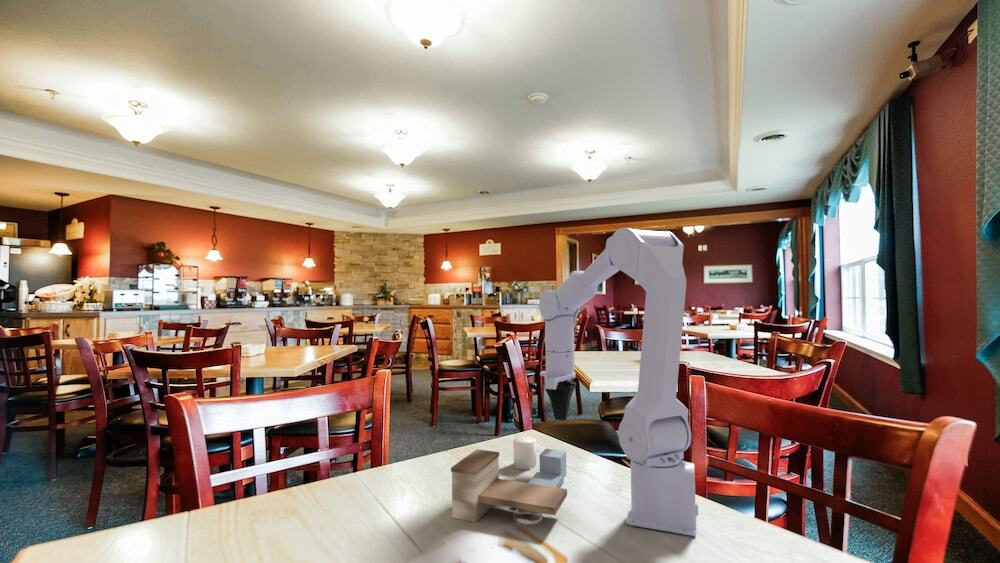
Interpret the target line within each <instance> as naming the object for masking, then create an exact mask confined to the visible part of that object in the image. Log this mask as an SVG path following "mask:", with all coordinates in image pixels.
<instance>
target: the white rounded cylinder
mask: <svg viewBox="0 0 1000 563" xmlns="http://www.w3.org/2000/svg"><path fill="white" fill-rule="evenodd" d="M512 441H513V442H512V443H513V446H512V447H513V450H512V452H513V453H512V454H513V467H514V466H515V467H518V468H522V469H521V470H531V469H530V468H533V469H535V468H536V467H537V466H538V465H537V460H538V459H537V439H536V438H535V437H531V436H518V437H516V438H513V440H512ZM536 465H537V466H536ZM535 466H536V467H535ZM515 467H514V468H515ZM534 467H535V468H534ZM518 468H517V469H518Z"/></svg>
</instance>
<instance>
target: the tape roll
mask: <svg viewBox="0 0 1000 563" xmlns="http://www.w3.org/2000/svg"><path fill="white" fill-rule="evenodd" d="M543 514H544V513H539V512H533V511H527V510H521V509H516V508H515V510H514V511H513V523H515V524H516V523H517V524H516V525H518V524H519V525H518V526H520V525H522V526H521V527H524V526H526V527H525V528H532V527H536V526H537V527H538V526H539V525H541V524H542V523H543ZM531 526H532V527H531Z"/></svg>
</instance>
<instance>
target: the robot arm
mask: <svg viewBox="0 0 1000 563" xmlns="http://www.w3.org/2000/svg"><path fill="white" fill-rule="evenodd" d="M684 247H685V246H684V244H683V242H681V240H680V239H679V238H678V237H677V236H676V235H675V234H674V233H673V232H671V231H669V230H648V229H647V230H646V229H634V228H629V227H621V228H619V229H617V230H615V232H614V233H613V234H612V235H611V236H609V237H608V238H607V239H606V243H605V248H604V250H603V251H602V252H601V253H600V254H599V255H598V256H597V257H595V259H594V260H593V261H592V263H590V265H588V267H587V268H586V269H585V270H572V271H571V272H570V274H569V276H568V278H566V279H565V280H564V281H563V282H562V283H559V285H558V286H557V287H556V288H555V290H553V289H552V290H550V289H547V290H544V291H543V292H542V294H541V295H540V297H539V301H538V311H539V313H540V315H541V317H542V318H543V319H544V335H545V336H544V337H545V338H544V341H545V342H544V343H545V348H544V349H545V370H543V371H540V372H539V375H540V377H544V384H543V385H544V386H543V388H544V390H545V393H547V396H548V398H549V400H550V403H551V408H552V413H553V416H554V419H555V420H557V421H566V420H567V418H568V414H569V410H570V404H571V400H572V396H573V393H574V390H575V389H576V387H577V382H575V381H569V380H573V379H575V378H576V372H575V332H574V331H575V328H576V326H577V318H578V315H579V314H580V308H581V307H582V306H583V305H585V304H586V303H588V301H590V300H591V299H592V298H594V297H595V296H596V295H597V293H598V286H599V285H600V284H602V283H603V282H605V281H606V280H608V279H609V278H610V277H612V276H613V275H615V274H617V273H618V272H620V271H621V272H623V273H624V274H626V276H628V277H630V278H631V279H633V280H635V282H637V283H638V284H639V285H640V286H641V288H643V290H644V291H645V301H644V316H643V324H642V325H643V326H642V339H641V352H640V361H639V362H640V364H639V373H638V374H639V375H638V388H637V392H636V394H635V395H634V396H633V398H631V400H630V401H629V402H627V404H625V406H624V414H623V418H622V420H621V422H620V423H619V426H618V432H617V434H618V435H617V436H618V441H619V444H620V448H621V449H622V451H623V453H624V454H625V455H626V459H628V460H630V486H631V487H630V489H631V490H630V491H631V494H630V495H631V496H630V498H631V502H630V506H629V510H628V512H627V517H626V520H625V523H626V524H627V525H629V526H634V527H639V528H646V529H651V530H657V531H662V532H663V531H664V532H669V533H674V534H680V535H686V536H693V537H695V536H696V535H697V518H696V517H699V503H698V502H697V501H696V480H695V479H696V478H695V477H696V475H695V474H696V473H695V472H696V470H695V469H696V468H695V463H694V462H688V461H685V460H683V459H684V452H685V451H686V450H687V449H688V448H689V447H690V445H691V442H692V430H691V427H690V424H689V409H688V408H687V407H686V406H685V405H684V403H682V402H681V401H680V400H679V399H678V398H677V391H678V379H679V371H680V370H679V369H680V358H681V346H682V335H683V324H684V317H685V316H684V315H685V314H684V313H685V304H686V302H685V301H686V291H687V277H686V273H685V269H684V265H683V257H684Z"/></svg>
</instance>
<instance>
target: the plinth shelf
mask: <svg viewBox="0 0 1000 563" xmlns="http://www.w3.org/2000/svg"><path fill="white" fill-rule="evenodd" d="M499 457H500V451H494V450H485V449H475V450H474V451H472V452H471V453H469V454H468V455H466V456H465V457H463V459H461V460H460V461H458V462H457V463H455V464H454V465H453V466H451V467H450V472H451V498H452V499H451V515H452V516H451V517H452V519H457V520H461V521H462V520H463V521H468V522H472V523H477V522H478V521H479V520H480V518H481V517H482V516H483V515H485V513H486V512H487V511H488V510H489V509H490V508H491V507H492V506H499V507H506V508H509V509H511V508H512V509H515V510H516V509H521V510H527V511H533V512H539V513H542V514H545V515H551V516H556V515H557V512H558V511H559V509H560V508H561V506H562V505H563V503H564V501H565V500H566V498H567V497H568V488H567V489H566V488H556V487H549V486H543V485H536V484H530V483H528V482H521V481H515V480H508V479H503V478H500V473H499V472H500V471H499V470H500V468H499V466H500V465H499V460H500V459H499Z"/></svg>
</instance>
